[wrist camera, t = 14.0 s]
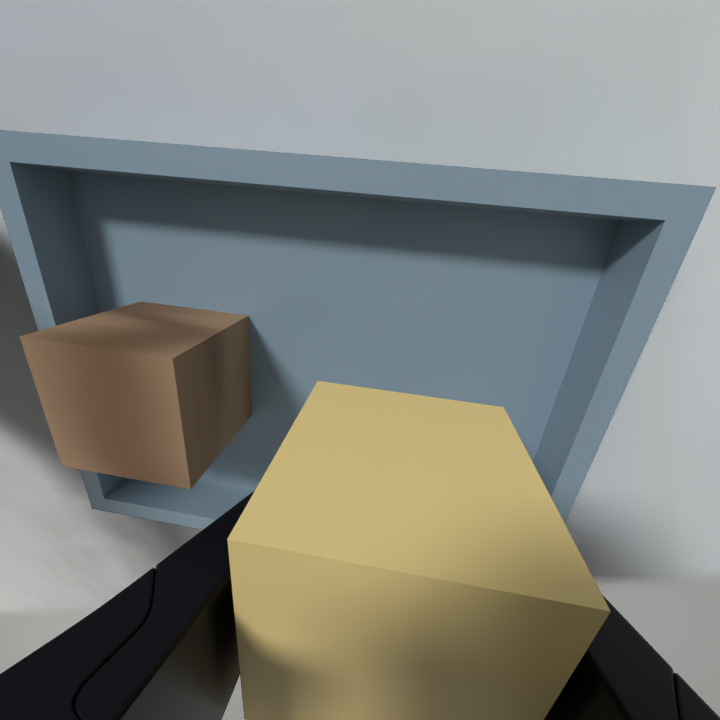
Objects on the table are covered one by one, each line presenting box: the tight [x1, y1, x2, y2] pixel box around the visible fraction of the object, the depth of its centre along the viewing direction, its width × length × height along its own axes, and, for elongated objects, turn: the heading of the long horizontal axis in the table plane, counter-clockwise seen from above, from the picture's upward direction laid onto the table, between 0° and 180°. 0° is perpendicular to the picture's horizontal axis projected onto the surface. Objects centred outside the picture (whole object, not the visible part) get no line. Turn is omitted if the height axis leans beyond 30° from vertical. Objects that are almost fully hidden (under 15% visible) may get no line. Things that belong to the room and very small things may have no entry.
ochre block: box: [227, 381, 611, 720], centre depth 7 cm, size 4×4×4 cm
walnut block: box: [19, 301, 252, 489], centre depth 12 cm, size 4×4×4 cm
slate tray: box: [0, 130, 716, 530], centre depth 13 cm, size 20×15×2 cm
